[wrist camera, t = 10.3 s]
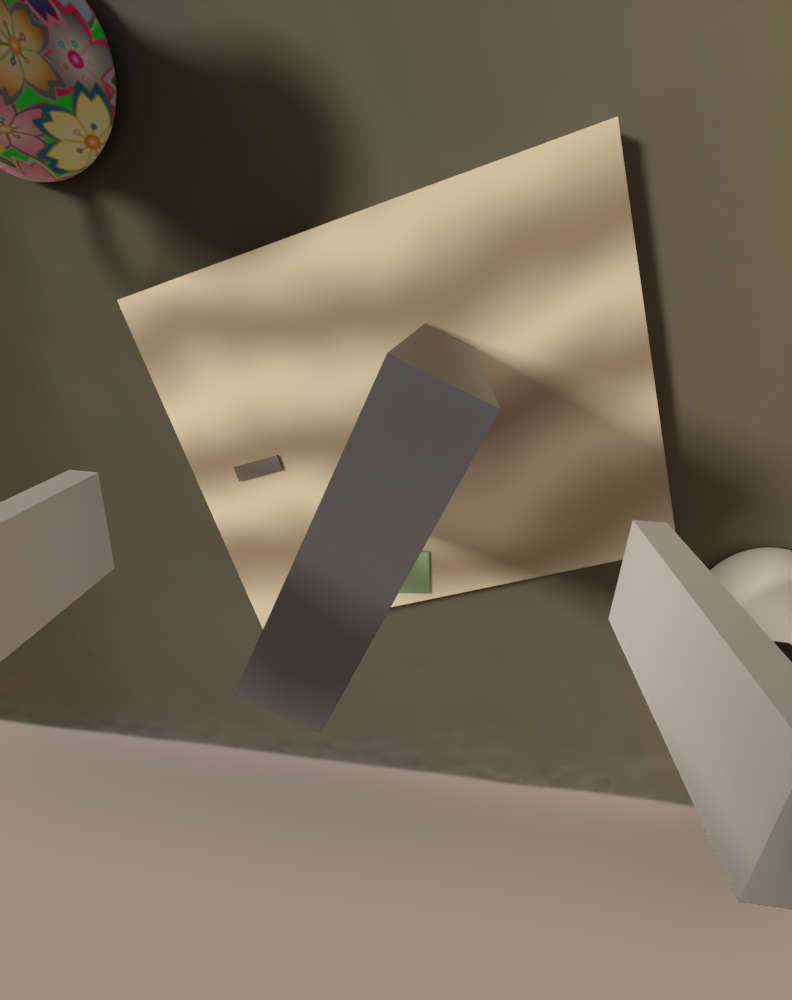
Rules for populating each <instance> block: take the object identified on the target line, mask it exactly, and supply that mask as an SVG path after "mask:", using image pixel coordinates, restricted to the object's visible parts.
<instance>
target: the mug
mask: <svg viewBox="0 0 792 1000" xmlns="http://www.w3.org/2000/svg"><path fill="white" fill-rule="evenodd" d="M116 97H117V88H116V76H115V69H114V64H113V59H112V55H111V51H110V48H109V45H108V42H107V39H106V37H105V34H104V32H103V29H102V27H101V25H100V23H99V21H98V19H97V17H96V16H95V14H94V12H93V10H92V9H91V7H90V6H89V4H88V3H87V1H86V0H0V169H2V170H4V171H6V172H7V173H9V174H12V175H14V176H16V177H19V178H22V179H25V180H29V181H34V182H55V181H61V180H65V179H68V178H71V177H73V176H75V175H77V174H79V173H81V172H82V171H83V170H85V169H86V168H87V167H88V166H90V165H91V164H92V163H93V162H94V160H95V159H96V158H97V157H98V155H99V154H100V153H101V151H102V149H103V148H104V146H105V144H106V142H107V140H108V137H109V135H110V132H111V129H112V125H113V122H114V116H115V111H116Z"/></svg>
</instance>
